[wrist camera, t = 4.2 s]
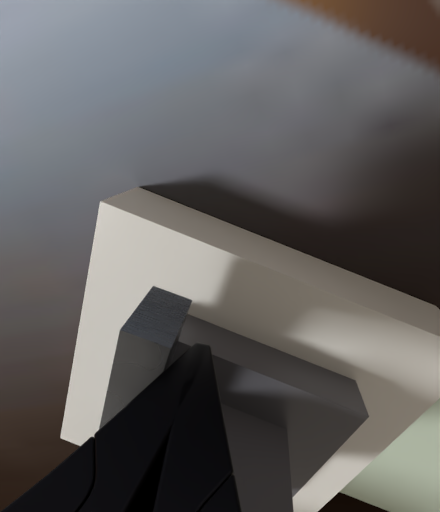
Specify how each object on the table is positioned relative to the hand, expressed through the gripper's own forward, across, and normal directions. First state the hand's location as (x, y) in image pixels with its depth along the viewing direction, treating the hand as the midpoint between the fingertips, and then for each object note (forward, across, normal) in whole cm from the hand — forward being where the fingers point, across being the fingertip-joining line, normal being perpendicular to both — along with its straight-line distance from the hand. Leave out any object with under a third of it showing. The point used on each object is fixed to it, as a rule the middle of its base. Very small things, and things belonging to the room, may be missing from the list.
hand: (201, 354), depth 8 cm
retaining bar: (+2, +2, +5) cm, 6 cm away
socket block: (+6, -1, +5) cm, 8 cm away
